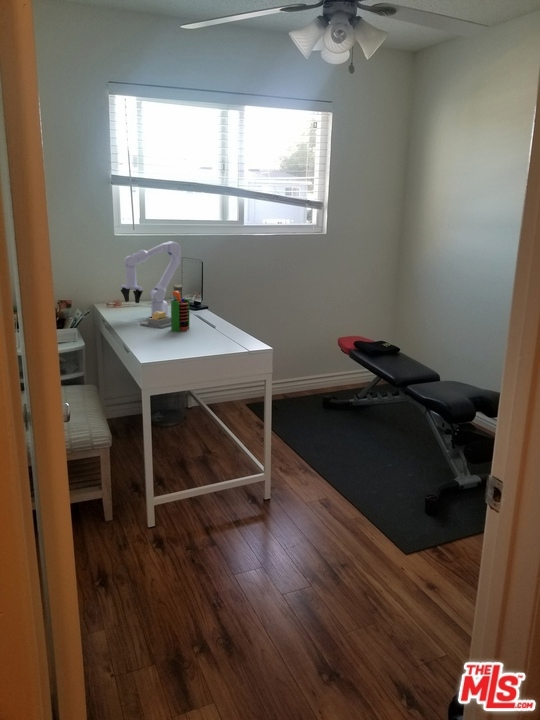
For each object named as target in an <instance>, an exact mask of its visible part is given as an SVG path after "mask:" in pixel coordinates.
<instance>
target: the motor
mask: <svg viewBox="0 0 540 720" xmlns="http://www.w3.org/2000/svg"><path fill="white" fill-rule="evenodd" d="M172 296H176V297H175V298H172V299H171V300H170V317H171V326H170V328H171V329H170V330H171V331H173V332H175V333H179V332H180V331H182V332H187V330H188V331H189V329H190V299H189V298H181V293H180V291H179V290H174V291H172Z"/></svg>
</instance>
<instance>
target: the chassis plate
mask: <svg viewBox="0 0 540 720" xmlns="http://www.w3.org/2000/svg"><path fill="white" fill-rule="evenodd" d="M139 325H140V326H143V325H144V326H145V327H149V326H151V328H156V327H157V329H166V328H169V327H170V328H171V316H168V317H166V318H165V319H161V320H154V319H151V317H148V318H147V321H143V322H141V323H139ZM165 327H166V328H165Z"/></svg>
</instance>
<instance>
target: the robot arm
mask: <svg viewBox="0 0 540 720" xmlns="http://www.w3.org/2000/svg"><path fill="white" fill-rule="evenodd" d="M162 252H165V253H167V254H168V255H169V257H170V261H169V262H168V265H167V267H166V268H165V270H164V272H163V274H162V276H161V277H160V280H159V282H158V283H157V284H156V285H155V286H154V287H153V288H152V289H151V290H150V292H149V297H150V298H151V299H150V300H151V301H150V306H151V307H150V310H151V315H149V316H148V318H151V317H152V318H153V313H155V312H156V311H159V312H160V311H161V312H166V316H168V317H170V315H169V305H168V303H167V301H165V297H166V293H167V287H168V286H169V284H170V282H171V280H172V278H173V277H174V274H175V273H176V270H177V269H178V267H179V266H180V263H181V261H182V255H181V253H182V248H181V246H180V244H179V243H178V242H175V241H173V240H170V241H169V240H168V241H167V242H163V243H161V244H158V245H156V246H154V247H152V248H150V249H149V250H145V249H139V250H138V252H137V251H136V252H135V253H131V255H127V256H125V258H124V259H123V264H124V267H125V268H124V269H125V270H124V271H125V284H121V285H120V292H121V293H122V295H123V296H122V297H123V299H124V301H125V303H127V302H130V291H131V290H132V292H133V295H134V303H135V304H139V303H140V300H141V299H140V298H141V296H142V294H143V289H144V287H143V286H139V285H137V283H138V282H137V269H136V268H137V267H136V266H137V265H139V264H141V263H144V262H145V261H148V260H149V258H150V256H154V255H156V254H159V253H162Z"/></svg>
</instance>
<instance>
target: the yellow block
mask: <svg viewBox="0 0 540 720" xmlns="http://www.w3.org/2000/svg"><path fill="white" fill-rule="evenodd" d="M166 317H169V316H166V312H161V311H160V312H159V311H156V312H155V313H153V318H151V317H150V318H151V319H154V320H161V319H165V318H166Z"/></svg>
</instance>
